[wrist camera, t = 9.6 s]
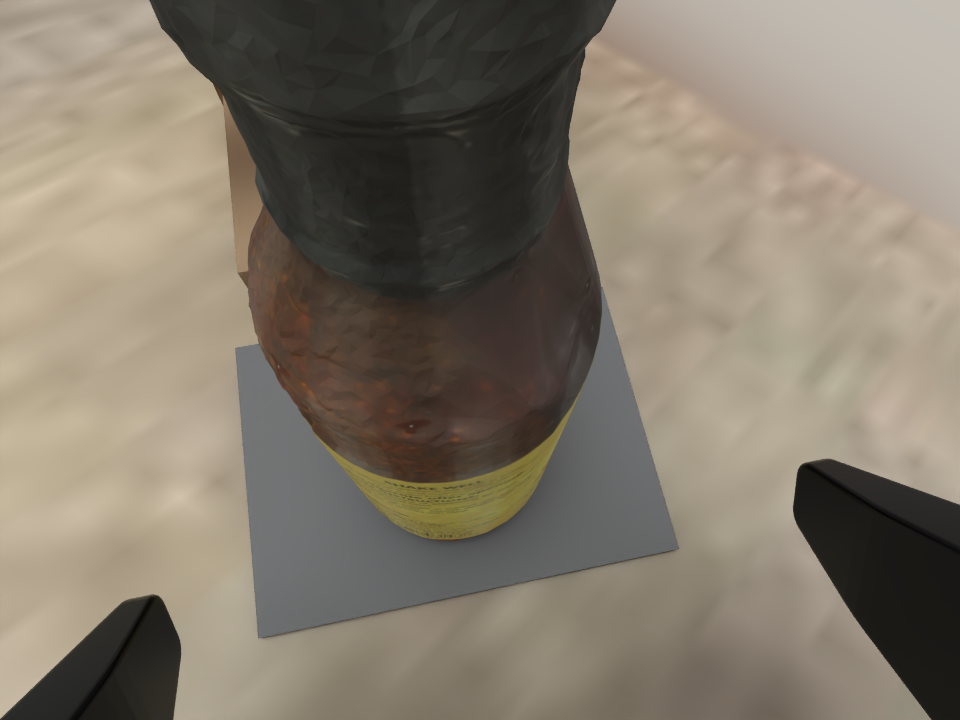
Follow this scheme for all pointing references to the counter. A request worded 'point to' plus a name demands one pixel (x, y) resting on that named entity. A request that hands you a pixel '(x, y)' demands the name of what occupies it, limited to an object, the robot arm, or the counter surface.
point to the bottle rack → (241, 190)
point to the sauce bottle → (415, 233)
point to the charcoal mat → (428, 562)
